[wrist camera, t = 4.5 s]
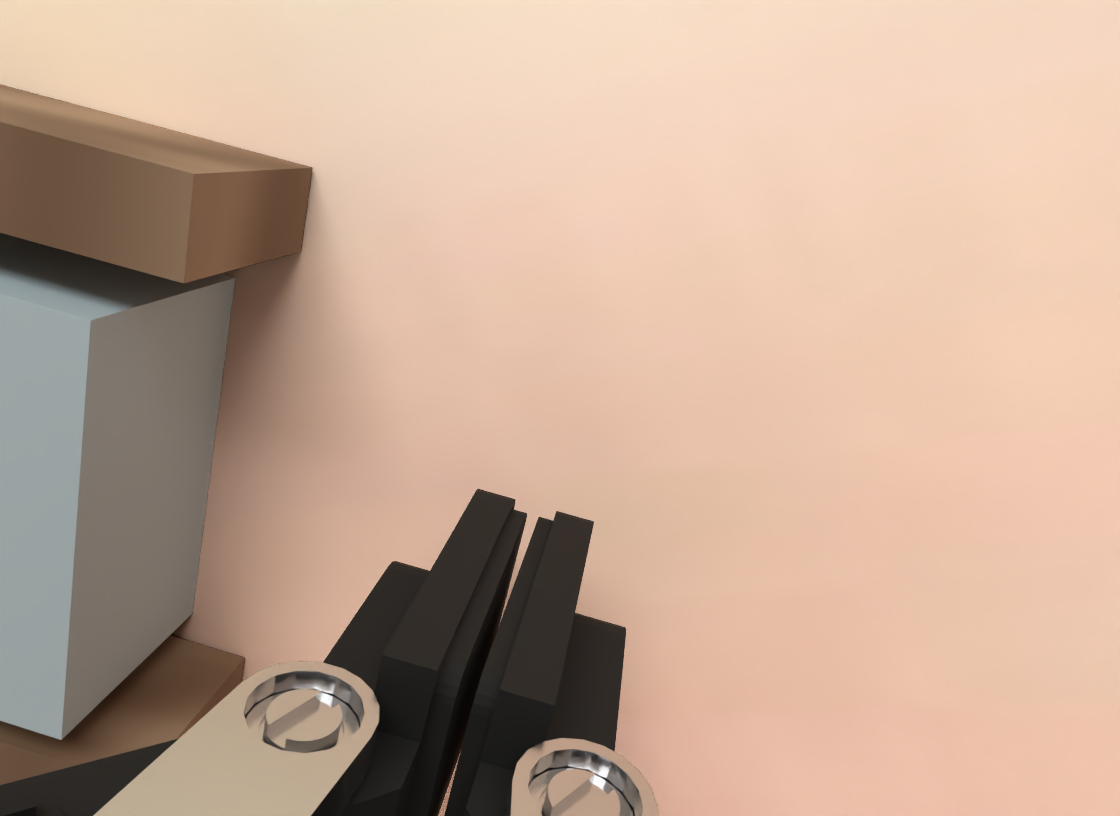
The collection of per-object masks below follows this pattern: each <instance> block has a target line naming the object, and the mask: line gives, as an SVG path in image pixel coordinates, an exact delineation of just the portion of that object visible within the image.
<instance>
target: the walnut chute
mask: <svg viewBox="0 0 1120 816" xmlns="http://www.w3.org/2000/svg"><path fill="white" fill-rule="evenodd" d="M311 175H312V167H308V166H305V165H301V164H297V163H293V162H289V161H286V160H282V159H278V158H274V157H271V156H267V155H263V154H259V153H256V152H252V151H248V150H244V149H241V148H237V147H233V146H229V145H226V144H222V143H218V142H214V141H211V140H207V139H203V138H199V137H196V136H192V135H188V134H184V133H180V132H177V131H173V130H169V129H165V128H162V127H158V126H154V125H150V124H147V123H143V122H139V121H135V120H132V119H128V118H124V117H120V116H117V115H113V114H109V113H105V112H102V111H98V110H94V109H90V108H87V107H83V106H79V105H75V104H71V103H68V102H64V101H60V100H56V99H53V98H49V97H45V96H41V95H38V94H34V93H30V92H26V91H23V90H19V89H15V88H11V87H8V86H4V85H0V233H3V234H7V235H10V236H14V237H17V238H21V239H25V240H28V241H32V242H36V243H39V244H43V245H46V246H50V247H54V248H57V249H61V250H65V251H68V252H72V253H75V254H79V255H83V256H86V257H90V258H94V259H97V260H101V261H104V262H108V263H112V264H115V265H119V266H122V267H126V268H130V269H133V270H137V271H141V272H144V273H148V274H151V275H155V276H159V277H162V278H166V279H170V280H173V281H177V282H180V283H187V282H191V281H194V280H198V279H202V278H205V277H209V276H213V275H216V274H220V273H224V272H227V271H231V270H235V269H238V268H242V267H245V266H249V265H253V264H256V263H260V262H264V261H267V260H271V259H275V258H278V257H282V256H286V255H289V254H293V253H296V252H300V251H301V247H302V240H303V233H304V225H305V218H306V211H307V204H308V196H309V189H310V182H311ZM244 660H245V658H244V657H241V656H238V655H234V654H231V653H228V652H224V651H221V650H218V649H214V648H211V647H208V646H204V645H201V644H198V643H194V642H191V641H188V640H184V639H181V638H178V637H174V636H171V635H170V636H169V637H168V638H167V639H166V640H165V641H163V642H162V643H161V644H160V645H159V646H158V647H157V648H156V649H155V650H154V651H153V652H152V653H151V654H150V655H149V656H148V657H147V658H146V659H145V660H144V661H143V662H142V663H141V664H140V665H139V666H138V667H137V668H136V669H134V670H133V671H132V672H131V673H130V674H129V675H128V676H127V677H126V678H125V679H124V680H123V681H122V682H121V683H120V684H119V685H118V686H117V687H116V688H115V689H114V690H113V691H112V692H111V693H110V694H109V695H108V696H106V697H105V698H104V699H103V700H102V701H101V702H100V703H99V704H98V705H97V706H96V707H95V708H94V709H93V710H92V711H91V712H90V713H89V714H88V715H87V716H86V717H85V718H84V719H83V720H82V721H81V722H80V723H78V724H77V725H76V726H75V727H74V728H73V729H72V730H71V731H70V732H69V733H68V734H67V735H66V736H65V737H64V738H63V739H62V740H59V739H56V738H53V737H50V736H47V735H44V734H41V733H38V732H34V731H31V730H28V729H25V728H22V727H19V726H16V725H12V724H9V723H6V722H3V721H0V785H3V784H7V783H10V782H14V781H18V780H22V779H26V778H29V777H33V776H37V775H41V774H45V773H49V772H52V771H56V770H60V769H64V768H68V767H72V766H75V765H79V764H83V763H87V762H91V761H95V760H98V759H102V758H106V757H110V756H114V755H118V754H121V753H125V752H129V751H133V750H137V749H140V748H144V747H148V746H152V745H156V744H160V743H163V742H167V741H171V740H175V739H179V738H180V737H181V736H182V735H184V734H185V733H186V732H187V731H188V730H189V729H190V728H191V727H192V726H194V725H195V724H196V723H197V722H198V721H199V720H200V719H201V718H203V717H204V716H205V715H206V714H207V713H208V712H209V711H210V710H211V709H213V708H214V707H215V706H216V705H217V704H218V703H219V702H220V701H221V700H223V699H224V698H225V697H226V696H227V695H228V694H229V693H230V692H231V691H233V690H234V689H235V688H236V687H237V686H238V685H239V684H240V683H241V681H242V674H243V667H244Z"/></svg>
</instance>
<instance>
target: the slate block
mask: <svg viewBox="0 0 1120 816" xmlns="http://www.w3.org/2000/svg"><path fill="white" fill-rule="evenodd" d="M234 283H235V278H234V277H230V276H227V275H223V274H216V275H213V276H209V277H205V278H202V279H198V280H194V281H191V282H187V283H180V282H177V281H173V280H170V279H166V278H162V277H159V276H155V275H151V274H148V273H144V272H141V271H137V270H133V269H130V268H126V267H122V266H119V265H115V264H112V263H108V262H104V261H101V260H97V259H94V258H90V257H86V256H83V255H79V254H75V253H72V252H68V251H65V250H61V249H57V248H54V247H50V246H46V245H43V244H39V243H36V242H32V241H28V240H25V239H21V238H17V237H14V236H10V235H7V234H3V233H0V721H3V722H6V723H9V724H12V725H16V726H19V727H22V728H25V729H28V730H31V731H34V732H38V733H41V734H44V735H47V736H50V737H53V738H56V739H59V740H62V739H63V738H64V737H65V736H66V735H67V734H68V733H69V732H70V731H71V730H72V729H73V728H74V727H75V726H76V725H77V724H78V723H80V722H81V721H82V720H83V719H84V718H85V717H86V716H87V715H88V714H89V713H90V712H91V711H92V710H93V709H94V708H95V707H96V706H97V705H98V704H99V703H100V702H101V701H102V700H103V699H104V698H105V697H106V696H108V695H109V694H110V693H111V692H112V691H113V690H114V689H115V688H116V687H117V686H118V685H119V684H120V683H121V682H122V681H123V680H124V679H125V678H126V677H127V676H128V675H129V674H130V673H131V672H132V671H133V670H134V669H136V668H137V667H138V666H139V665H140V664H141V663H142V662H143V661H144V660H145V659H146V658H147V657H148V656H149V655H150V654H151V653H152V652H153V651H154V650H155V649H156V648H157V647H158V646H159V645H160V644H161V643H162V642H163V641H165V640H166V639H167V638H168V637H169V636H170V635H171V634H172V633H173V632H174V631H175V630H176V629H177V628H178V627H179V626H180V625H181V624H182V623H183V622H184V621H185V620H186V619H187V618H188V617H189V616H190V615H191V614H193V607H194V599H195V591H196V583H197V575H198V567H199V559H200V551H201V544H202V536H203V528H204V520H205V512H206V504H207V496H208V488H209V480H210V473H211V465H212V457H213V449H214V441H215V433H216V425H217V417H218V409H219V402H220V394H221V386H222V378H223V370H224V362H225V354H226V346H227V338H228V331H229V323H230V315H231V307H232V299H233V291H234Z"/></svg>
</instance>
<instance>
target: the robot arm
mask: <svg viewBox="0 0 1120 816" xmlns="http://www.w3.org/2000/svg"><path fill="white" fill-rule="evenodd" d="M514 506H515V499H512V498H508V497H505V496H501V495H498V494H494V493H491V492H487V491H484V490H480V489H477V491H476V492H475V494H474V496H473V497H472V499H471V501H470V503H469V504H468V506H467V508H466V510H465V511H464V513H463V515H462V517H461V518H460V520H459V522H458V524H457V525H456V527H455V529H454V531H453V532H452V534H451V536H450V537H449V539H448V541H447V543H446V544H445V546H444V548H443V550H442V551H441V553H440V555H439V557H438V558H437V560H436V562H435V564H434V565H433V567H432V569H431V571H428V570H425V569H421V568H418V567H414V566H411V565H407V564H404V563H400V562H397V561H394V562H392V563H391V564H390V565H389V566H388V568H387V569H386V571H385V572H384V574H383V575H382V577H381V578H380V579H379V581H378V582H377V584H376V585H375V587H374V588H373V590H372V591H371V593H370V594H369V596H368V597H367V599H366V600H365V602H364V603H363V605H362V606H361V607H360V609H359V610H358V612H357V613H356V615H355V616H354V618H353V619H352V621H351V622H350V624H349V625H348V627H347V628H346V630H345V631H344V632H343V634H342V635H341V637H340V638H339V640H338V641H337V643H336V644H335V646H334V647H333V649H332V650H331V652H330V653H329V655H328V656H327V657H326V659H325V660H324V662H323V663H321V662H308V661H297V662H289V663H281V664H277V665H274V666H271V667H268V668H266V669H263V670H260V671H258V672H256V673H255V674H253V675H252V676H250V677H249V678H247V679H246V680H244V681H243V682H242V683H240V684H239V685H238V686H237V687H236V688H235V689H234V690H233V691H231V692H230V693H229V694H228V695H227V696H226V697H225V698H224V699H223V700H221V701H220V702H219V703H218V704H217V705H216V706H215V707H214V708H213V709H211V710H210V711H209V712H208V713H207V714H206V715H205V716H204V717H203V718H201V719H200V720H199V721H198V722H197V723H196V724H195V725H194V726H192V727H191V728H190V729H189V730H188V731H187V732H186V733H185V734H184V735H182V736H181V737H180V738H179V739H175V740H171V741H167V742H163V743H160V744H156V745H152V746H148V747H144V748H140V749H137V750H133V751H129V752H125V753H121V754H118V755H114V756H110V757H106V758H102V759H98V760H95V761H91V762H87V763H83V764H79V765H75V766H72V767H68V768H64V769H60V770H56V771H52V772H49V773H45V774H41V775H37V776H33V777H29V778H26V779H22V780H18V781H14V782H10V783H7V784H3V785H0V816H438V814H439V811H440V808H441V805H442V802H443V800H444V797H445V794H446V791H447V788H448V785H449V782H450V780H451V777H452V774H453V771H454V768H455V765H456V763H457V760H458V757H459V754H460V757H459V761H458V765H457V769H456V773H455V776H454V780H453V784H452V788H451V792H450V796H449V800H448V804H447V808H446V812H445V816H659V811H658V805H657V802H656V800H655V797H654V794H653V791H652V788H651V786H650V785H649V784H648V782H647V781H646V779H645V778H644V776H643V775H642V774H641V772H640V771H639V770H638V769H637V768H636V767H635V766H633V765H632V764H631V763H630V762H629V761H628V760H627V759H625V758H624V757H623V756H621V755H620V754H618V753H616V752H614V751H615V741H616V730H617V720H618V710H619V699H620V689H621V679H622V669H623V658H624V648H625V638H626V628H625V627H622V626H618V625H615V624H612V623H608V622H605V621H601V620H598V619H594V618H591V617H587V616H584V615H580V614H577V613H575V609H576V605H577V600H578V595H579V590H580V586H581V581H582V576H583V572H584V567H585V562H586V557H587V553H588V548H589V543H590V538H591V534H592V529H593V524H594V522H593V521H590V520H586V519H583V518H579V517H576V516H572V515H569V514H565V513H562V512H558V511H557V512H556V514H555V518H554V521H552V520H548V519H545V518H541V517H539V518H538V521H537V523H536V526H535V529H534V532H533V534H532V537H531V540H530V543H529V545H528V548H527V551H526V554H525V556H524V559H523V562H522V565H521V567H520V570H519V573H518V576H517V578H516V581H515V584H514V587H513V589H512V592H511V595H510V598H509V600H508V603H507V606H506V609H505V611H504V614H503V617H502V620H501V616H502V612H503V608H504V604H505V600H506V596H507V592H508V588H509V584H510V581H511V577H512V573H513V569H514V565H515V561H516V557H517V553H518V549H519V546H520V542H521V538H522V534H523V530H524V526H525V522H526V518H527V513H524V512H520V511H517V510H514ZM500 620H501V622H500ZM499 623H500V625H499ZM498 627H499V628H498ZM461 748H462V749H461ZM460 751H461V753H460Z"/></svg>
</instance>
